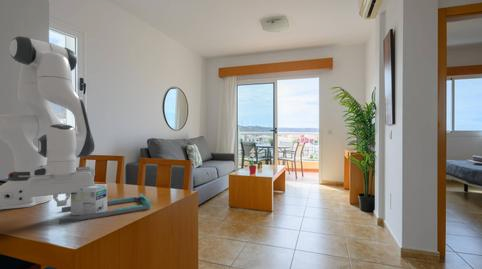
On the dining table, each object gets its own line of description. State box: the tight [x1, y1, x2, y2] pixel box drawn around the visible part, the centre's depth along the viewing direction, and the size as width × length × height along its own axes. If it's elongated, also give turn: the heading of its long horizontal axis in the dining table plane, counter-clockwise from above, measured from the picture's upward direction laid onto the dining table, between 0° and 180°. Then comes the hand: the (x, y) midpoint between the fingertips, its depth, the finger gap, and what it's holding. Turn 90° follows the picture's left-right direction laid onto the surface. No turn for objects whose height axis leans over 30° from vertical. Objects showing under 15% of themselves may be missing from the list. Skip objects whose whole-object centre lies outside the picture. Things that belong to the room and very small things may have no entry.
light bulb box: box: [70, 183, 108, 216], centre depth 93 cm, size 11×7×11 cm, turn 84°
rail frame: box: [58, 193, 152, 225], centre depth 97 cm, size 30×16×3 cm, turn 124°
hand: (61, 205), depth 89 cm, fingers closed
